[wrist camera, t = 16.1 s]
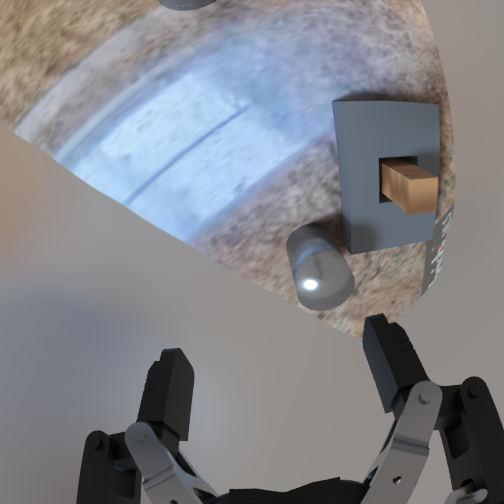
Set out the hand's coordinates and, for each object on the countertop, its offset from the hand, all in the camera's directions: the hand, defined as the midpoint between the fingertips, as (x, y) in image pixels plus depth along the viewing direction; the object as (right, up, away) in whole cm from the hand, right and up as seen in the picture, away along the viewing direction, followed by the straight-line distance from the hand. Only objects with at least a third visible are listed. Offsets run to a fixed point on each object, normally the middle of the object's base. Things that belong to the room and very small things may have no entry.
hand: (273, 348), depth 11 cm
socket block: (+18, +15, +22) cm, 32 cm away
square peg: (+18, +15, +22) cm, 32 cm away
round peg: (+8, +5, +28) cm, 30 cm away
